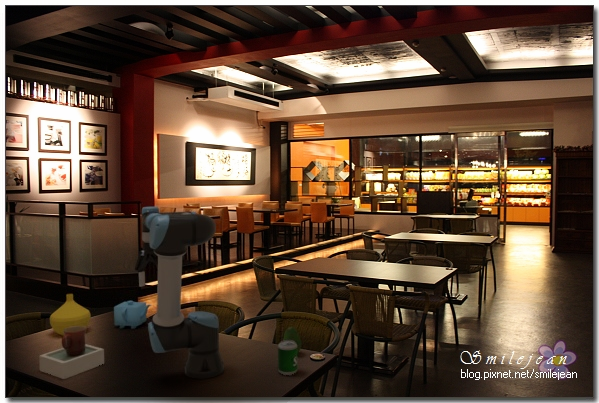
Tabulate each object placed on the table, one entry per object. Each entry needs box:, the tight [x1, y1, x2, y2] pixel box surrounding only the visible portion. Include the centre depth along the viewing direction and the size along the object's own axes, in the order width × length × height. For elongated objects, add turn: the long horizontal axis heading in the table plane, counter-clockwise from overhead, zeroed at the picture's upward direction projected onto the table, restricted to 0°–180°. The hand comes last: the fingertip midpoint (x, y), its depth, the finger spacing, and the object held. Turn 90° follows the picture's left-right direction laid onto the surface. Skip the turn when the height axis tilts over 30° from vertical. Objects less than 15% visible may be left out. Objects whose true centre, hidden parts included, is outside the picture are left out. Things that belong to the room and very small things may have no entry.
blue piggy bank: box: [113, 300, 152, 329], centre depth 257 cm, size 18×16×13 cm
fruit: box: [282, 326, 302, 354], centre depth 215 cm, size 8×8×12 cm
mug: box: [61, 326, 88, 356], centre depth 202 cm, size 12×9×10 cm
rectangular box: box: [38, 343, 105, 380], centre depth 203 cm, size 16×18×6 cm
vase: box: [49, 293, 92, 337], centre depth 247 cm, size 18×18×19 cm
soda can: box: [277, 340, 298, 376], centre depth 196 cm, size 8×8×12 cm
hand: (152, 287), depth 226 cm, fingers open, 13 cm apart
